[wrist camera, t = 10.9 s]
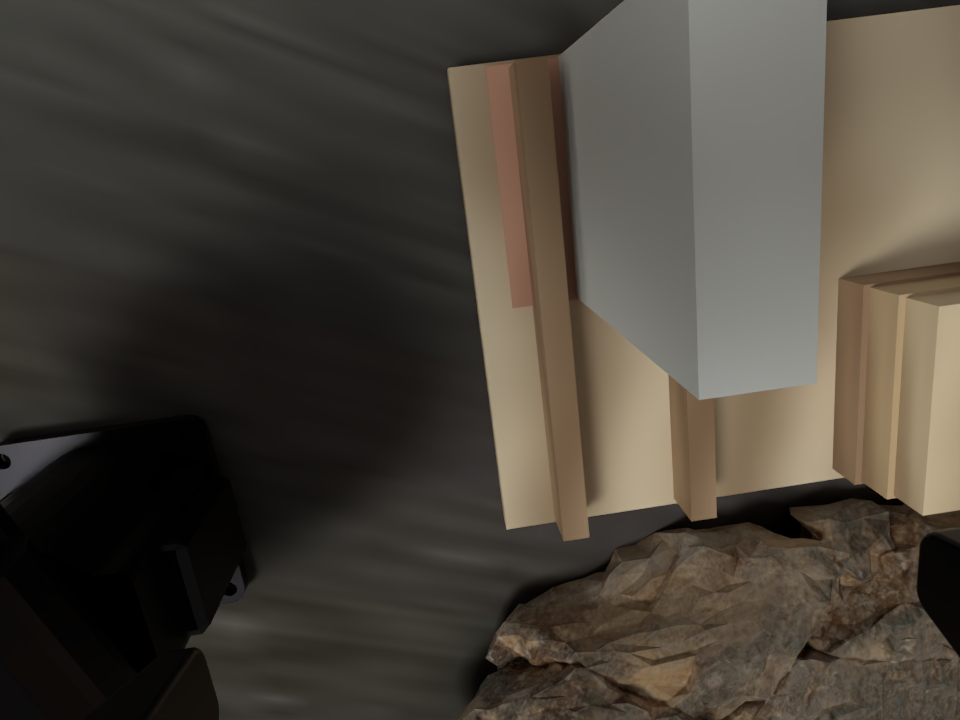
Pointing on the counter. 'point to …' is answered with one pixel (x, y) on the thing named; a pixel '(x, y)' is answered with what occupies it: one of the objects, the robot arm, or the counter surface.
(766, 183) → the panel
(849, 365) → the tan wooden square tile
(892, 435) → the oak offcut
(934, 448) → the pine offcut
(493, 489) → the counter surface
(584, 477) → the rack
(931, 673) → the craggy brown boulder
